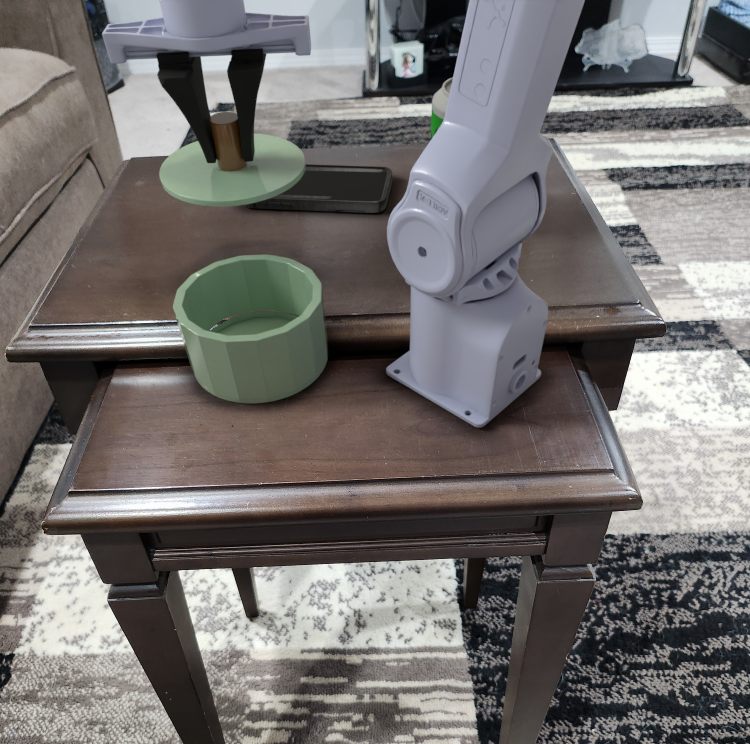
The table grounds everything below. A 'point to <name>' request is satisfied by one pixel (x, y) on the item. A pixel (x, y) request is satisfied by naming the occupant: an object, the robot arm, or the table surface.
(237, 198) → the pot lid
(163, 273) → the table surface
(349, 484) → the table surface
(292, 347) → the pot
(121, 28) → the robot arm
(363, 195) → the phone
